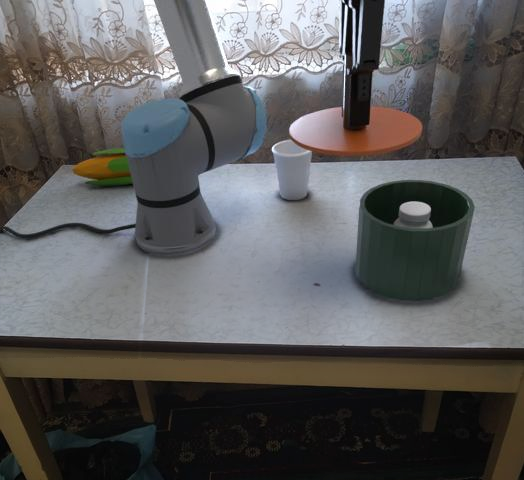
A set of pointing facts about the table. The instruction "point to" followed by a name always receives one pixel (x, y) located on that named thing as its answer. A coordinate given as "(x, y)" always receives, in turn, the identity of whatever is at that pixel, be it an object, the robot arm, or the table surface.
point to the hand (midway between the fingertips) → (355, 120)
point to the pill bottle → (414, 215)
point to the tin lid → (355, 128)
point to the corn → (106, 169)
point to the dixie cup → (292, 169)
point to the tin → (412, 240)
